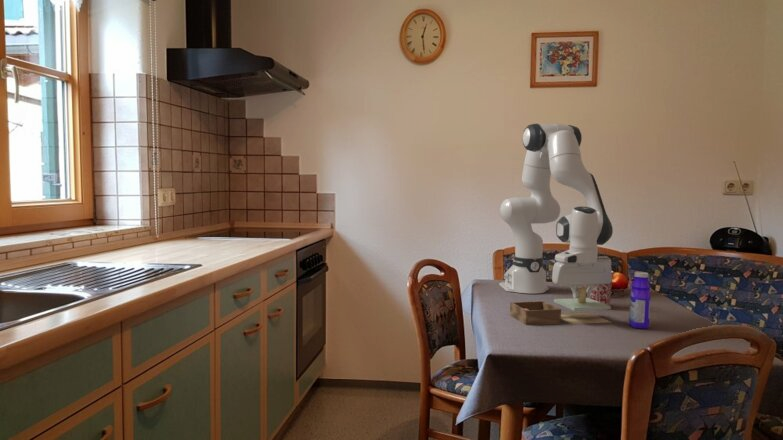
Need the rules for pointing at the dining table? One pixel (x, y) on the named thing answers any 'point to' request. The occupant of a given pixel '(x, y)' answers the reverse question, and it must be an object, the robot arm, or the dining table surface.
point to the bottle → (640, 301)
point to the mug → (602, 292)
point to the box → (535, 312)
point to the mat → (582, 318)
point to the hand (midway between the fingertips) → (581, 297)
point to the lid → (582, 302)
